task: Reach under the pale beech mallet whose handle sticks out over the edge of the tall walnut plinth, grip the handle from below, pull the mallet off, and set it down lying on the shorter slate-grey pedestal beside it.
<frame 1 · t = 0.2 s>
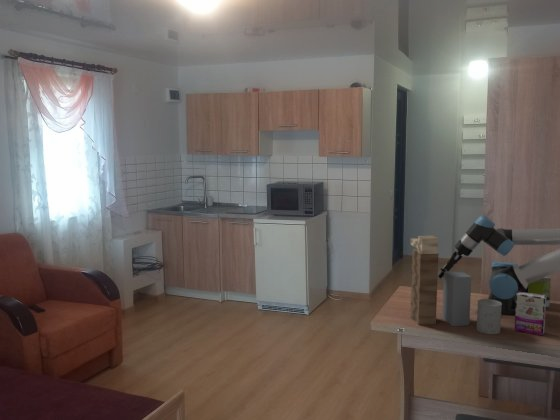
hand: (437, 278, 245), 15 cm above the table, tool tilted 35°, fingers open, 13 cm apart
mallet: (421, 248, 234), point 32 cm above the table, touching walnut plinth
concrete cylinder: (488, 330, 222), on the table
walnut plinth: (422, 320, 233), on the table
tea box: (529, 304, 255), on the table
grey pedestal: (455, 321, 232), on the table
candy bar box: (529, 332, 220), on the table
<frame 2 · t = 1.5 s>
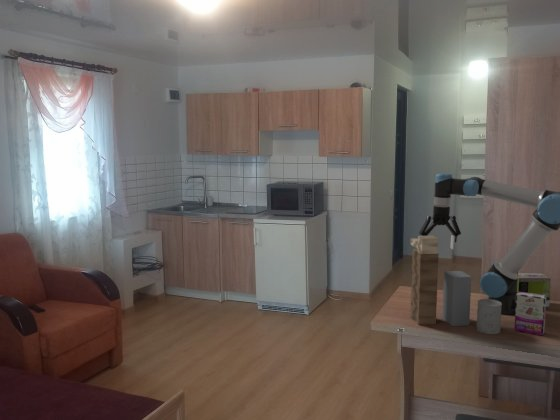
hand: (439, 249, 250), 28 cm above the table, tool pointing down, fingers open, 13 cm apart
nothing on the table moved.
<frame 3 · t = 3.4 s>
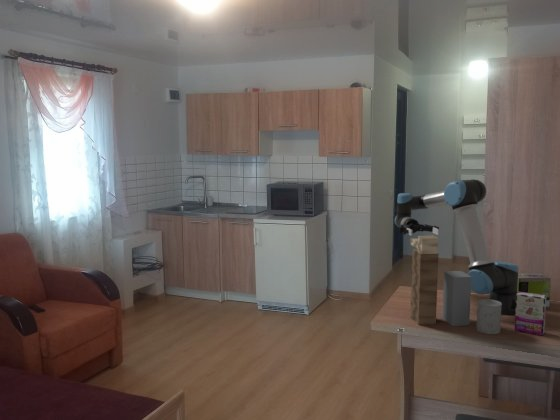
hand: (425, 232, 251), 36 cm above the table, tool horizontal, fingers open, 13 cm apart
nothing on the table moved.
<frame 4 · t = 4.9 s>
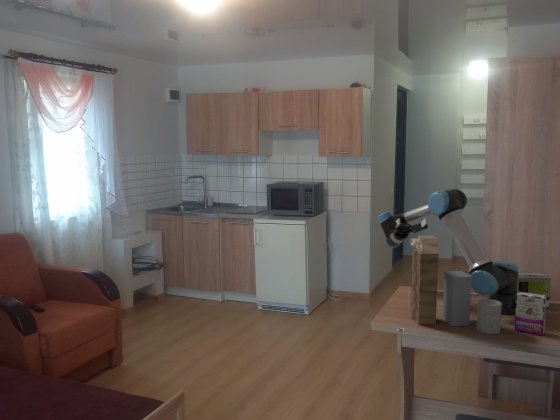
hand: (413, 220, 251), 42 cm above the table, tool pointing upward, fingers open, 13 cm apart
nothing on the table moved.
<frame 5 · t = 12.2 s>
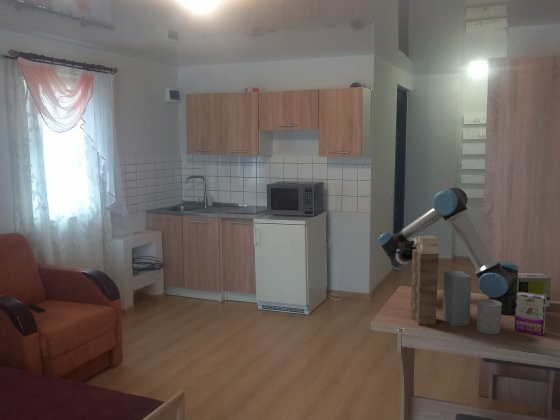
hand: (421, 239, 233), 36 cm above the table, tool pointing upward, fingers closed on mallet, 3 cm apart
mallet: (421, 248, 234), point 32 cm above the table, touching gripper, walnut plinth
everything else where it was.
when the fingers open (28 cm above the table, at t = 23.7 s): mallet drops 1 cm, resting on grey pedestal.
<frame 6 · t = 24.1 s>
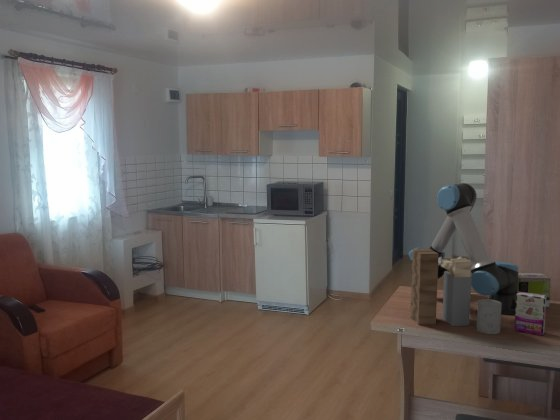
hand: (451, 259, 234), 27 cm above the table, tool pointing upward, fingers open, 9 cm apart
mallet: (452, 271, 234), point 22 cm above the table, touching grey pedestal
everything else where it was.
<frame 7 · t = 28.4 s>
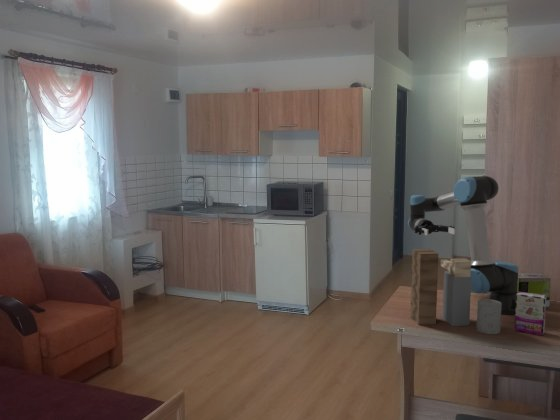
hand: (441, 232, 247), 37 cm above the table, tool horizontal, fingers open, 13 cm apart
nothing on the table moved.
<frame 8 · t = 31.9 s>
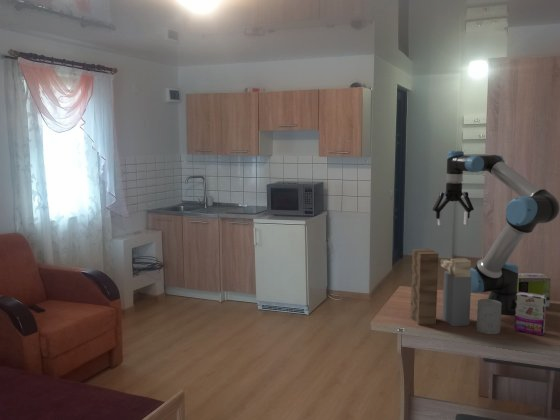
hand: (452, 224, 257), 39 cm above the table, tool pointing down, fingers open, 13 cm apart
nothing on the table moved.
at the end: mallet inside the target area on the grey pedestal (0.1 cm from its centre), point 22.0 cm above the grey pedestal's base; mallet tilted 0°; the gripper is holding nothing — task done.
